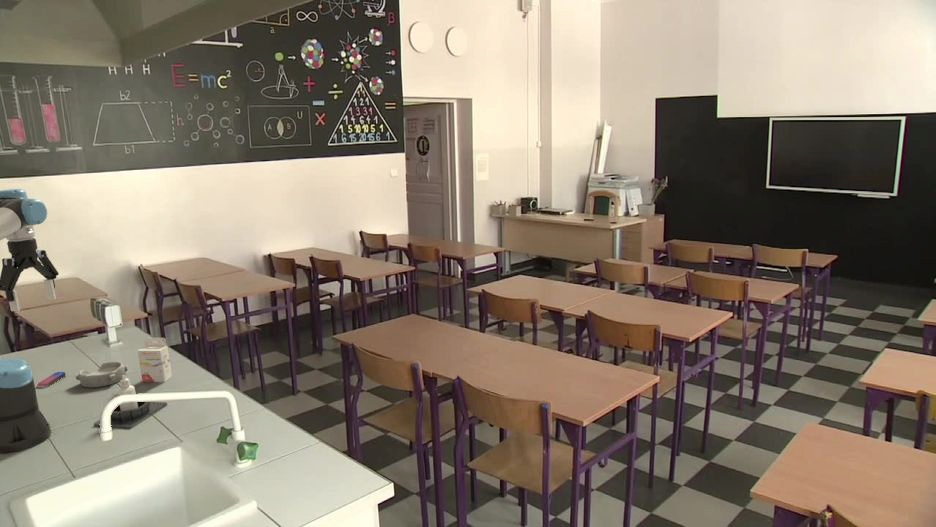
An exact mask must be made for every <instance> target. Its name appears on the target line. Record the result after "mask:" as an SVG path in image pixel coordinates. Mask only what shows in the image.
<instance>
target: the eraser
mask: <svg viewBox="0 0 936 527" xmlns="http://www.w3.org/2000/svg"><path fill="white" fill-rule="evenodd" d="M63 377H64V378H66V372H65V371H57V372H54V373H53V374H51V375H49V376H47V377H46V378H44V379H43V380H41V381H39V382H38V383H37V388H38V389H46V388H49V387H51V386H53V385H54V383H55V382H56V383H58V382H59V381H61V380H62V379H61V378H63ZM64 378H63V379H64ZM60 379H61V380H60ZM58 380H59V381H58ZM57 381H58V382H57ZM56 383H55V384H56ZM52 384H53V385H52ZM50 385H51V386H50Z"/></svg>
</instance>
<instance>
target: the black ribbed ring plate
mask: <svg viewBox="0 0 936 527" xmlns="http://www.w3.org/2000/svg"><path fill="white" fill-rule="evenodd" d="M137 404H138V408H135V409H132V410H129V411H122V412H121V410H120V405H119V406H118V407H117V408H116V409H115V410H114V411H113V413H112V415H111V425H112V427H111V428H121V429H123V428H126V429H132V428H134V427H136V426H138V425H139V424H141V423H142V422H143V421H145V420H146V419H148V418H150V417H152V416H153V415H154V414H156V413H157V412H158V411H161V410H162V409H163V408H165V407H167V406H168V402H161V401H150V402H137ZM99 424H100V419H99V420H97V421H95V422H94V423H93V426H94V427H100V426H99Z"/></svg>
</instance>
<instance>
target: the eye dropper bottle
mask: <svg viewBox="0 0 936 527" xmlns="http://www.w3.org/2000/svg"><path fill="white" fill-rule="evenodd" d="M119 384H120V388H119V389H118V392H117V397H118V396H120V395H124V394H136V395H137V393H136V389H135V386H134V385H131V383H130V379H129V378H127V377H126V375H123V376H122V380H120V381H119ZM135 408H138V404H137V402H130V403H124V404H121V405H120V410H121V412H122V411H129V410H132V409H135Z"/></svg>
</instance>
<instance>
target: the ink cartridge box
mask: <svg viewBox="0 0 936 527" xmlns="http://www.w3.org/2000/svg"><path fill="white" fill-rule="evenodd" d="M143 340H144V346H143V347H141V348H139V349H138V350H137V353H138V354H137V355H138V362H139V368H140V374H141V380H142V382H143V383H165V382H167V381H169V380H170V379H171V378H172V377H173V375H172V374H173V373H172V368H171V362H170V361H171V360H170V355H169V348H168V344H167V339H166V338H165V337H144V338H143ZM154 341H156V342H154Z"/></svg>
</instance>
